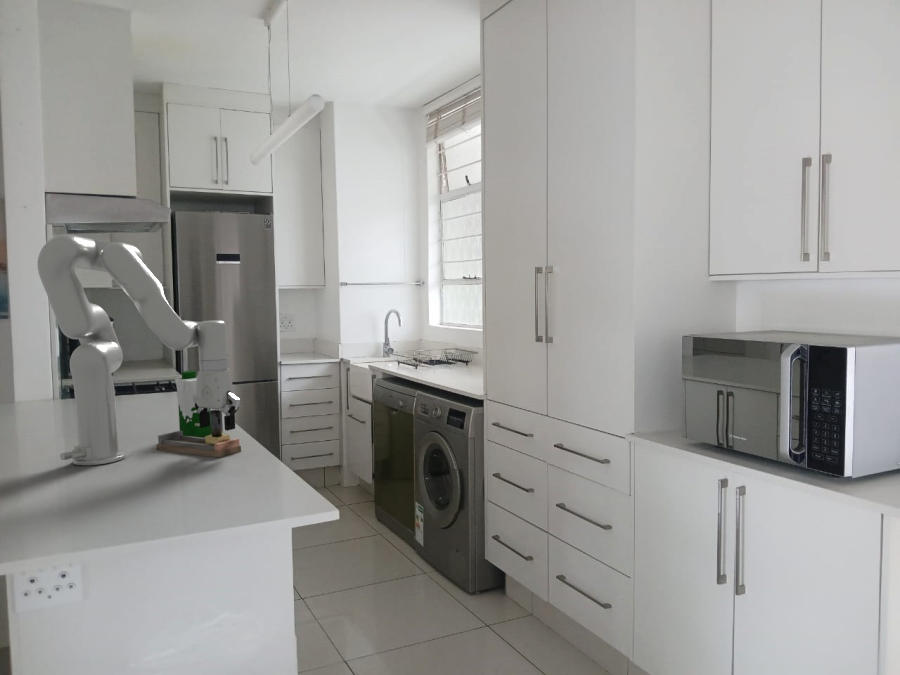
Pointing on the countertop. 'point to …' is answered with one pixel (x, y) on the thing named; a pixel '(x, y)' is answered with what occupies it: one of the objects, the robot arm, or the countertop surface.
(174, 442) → the rail base
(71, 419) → the countertop surface
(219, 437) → the slider
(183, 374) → the milk carton
